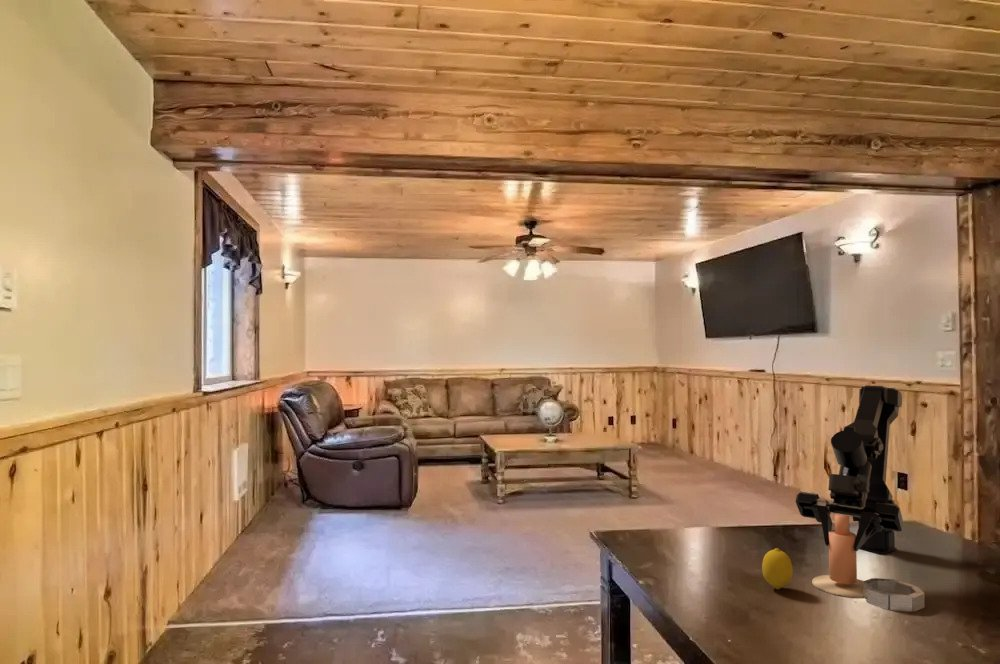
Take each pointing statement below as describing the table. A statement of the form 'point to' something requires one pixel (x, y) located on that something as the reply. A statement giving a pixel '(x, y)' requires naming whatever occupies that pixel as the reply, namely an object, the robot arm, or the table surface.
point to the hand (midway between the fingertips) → (840, 547)
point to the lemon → (777, 568)
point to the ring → (893, 594)
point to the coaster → (838, 586)
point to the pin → (842, 552)
